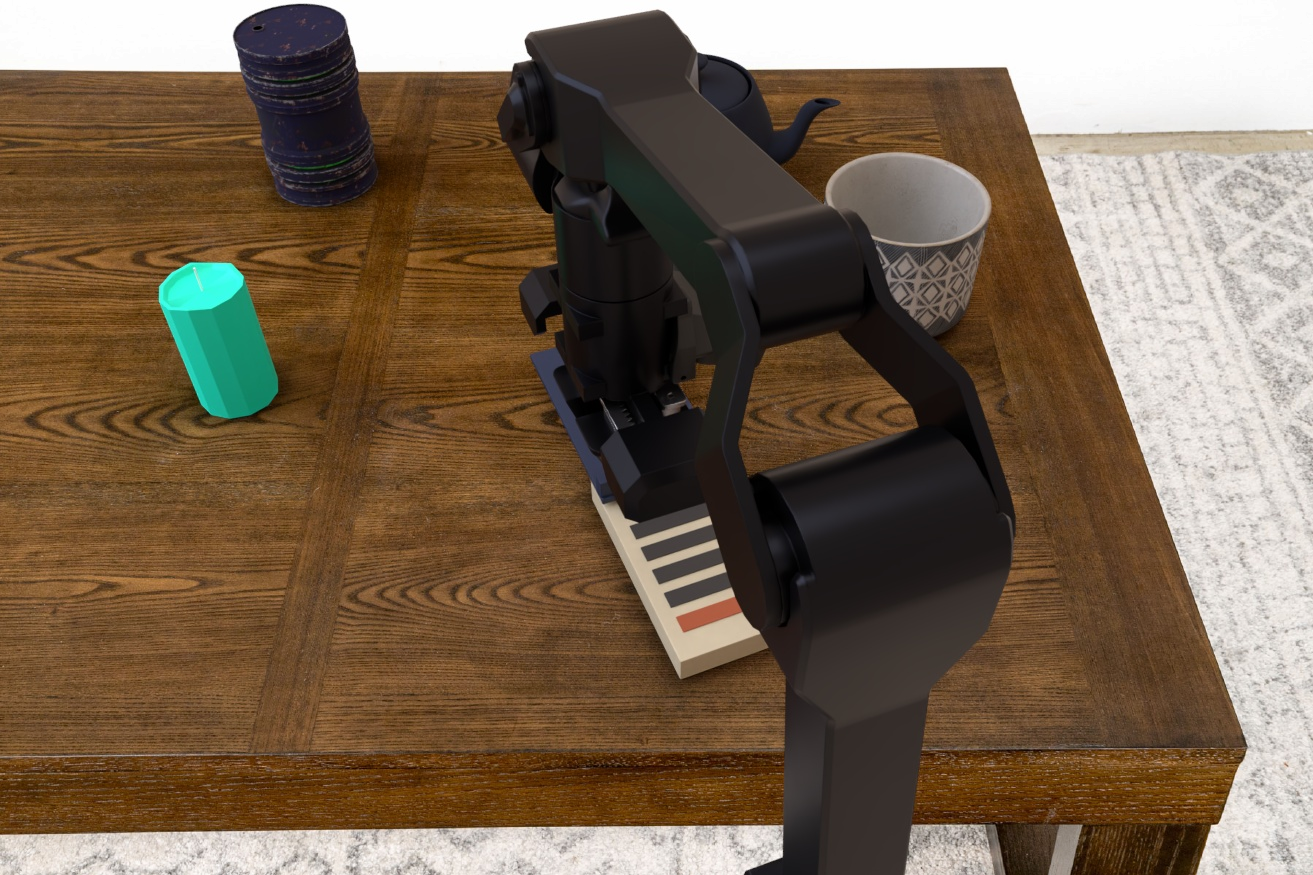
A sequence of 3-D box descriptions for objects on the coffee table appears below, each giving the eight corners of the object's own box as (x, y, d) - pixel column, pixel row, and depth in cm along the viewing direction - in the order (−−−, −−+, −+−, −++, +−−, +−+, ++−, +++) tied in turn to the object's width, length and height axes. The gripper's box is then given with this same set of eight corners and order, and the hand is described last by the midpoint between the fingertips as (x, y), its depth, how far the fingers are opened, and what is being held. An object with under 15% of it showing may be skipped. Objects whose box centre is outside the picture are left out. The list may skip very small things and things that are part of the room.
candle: (268, 418, 88) (224, 295, 79) (190, 418, 88) (137, 295, 79) (287, 365, 92) (247, 242, 83) (212, 365, 92) (164, 242, 84)
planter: (954, 366, 91) (979, 259, 84) (798, 333, 94) (809, 228, 87) (976, 271, 100) (1001, 167, 92) (831, 244, 102) (844, 141, 95)
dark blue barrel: (390, 151, 114) (361, 5, 103) (364, 209, 107) (330, 59, 96) (291, 147, 114) (252, 1, 104) (259, 205, 107) (213, 55, 97)
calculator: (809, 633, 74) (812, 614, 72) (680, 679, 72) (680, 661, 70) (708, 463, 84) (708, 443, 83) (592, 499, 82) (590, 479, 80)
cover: (726, 466, 81) (727, 447, 79) (602, 505, 78) (601, 486, 77) (641, 328, 91) (641, 309, 90) (530, 358, 89) (528, 340, 87)
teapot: (548, 205, 107) (537, 85, 98) (596, 119, 117) (590, 3, 109) (816, 245, 102) (830, 122, 94) (842, 151, 113) (856, 33, 104)
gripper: (849, 340, 53) (820, 554, 64) (692, 143, 66) (691, 351, 77) (622, 403, 51) (633, 616, 62) (503, 185, 63) (530, 395, 74)
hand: (626, 481), depth 69 cm, fingers closed
